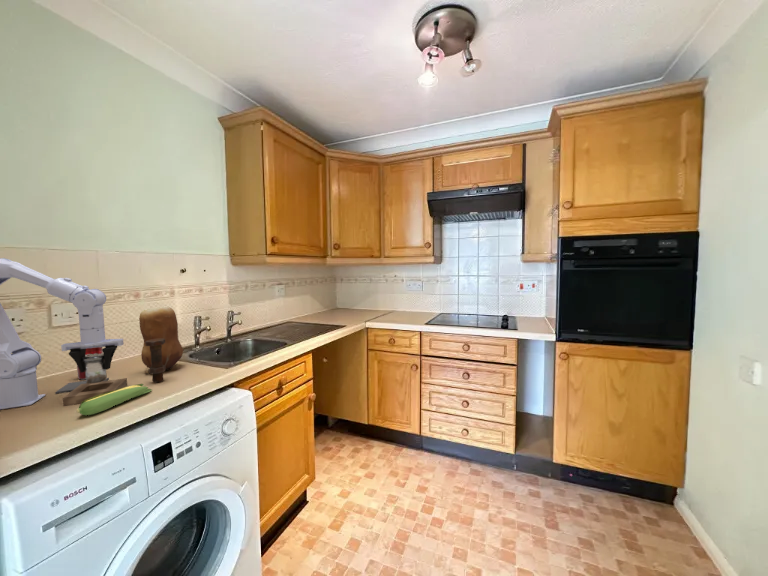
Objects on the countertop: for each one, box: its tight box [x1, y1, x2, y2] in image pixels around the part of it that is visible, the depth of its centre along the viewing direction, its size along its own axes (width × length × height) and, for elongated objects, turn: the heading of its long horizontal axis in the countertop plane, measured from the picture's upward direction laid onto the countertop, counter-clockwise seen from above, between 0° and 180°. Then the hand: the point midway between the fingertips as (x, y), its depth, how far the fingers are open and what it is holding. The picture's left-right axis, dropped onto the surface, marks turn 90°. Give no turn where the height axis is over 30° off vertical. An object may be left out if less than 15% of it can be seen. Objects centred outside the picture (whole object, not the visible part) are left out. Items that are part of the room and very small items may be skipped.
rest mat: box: [55, 377, 110, 395], centre depth 108 cm, size 11×9×1 cm
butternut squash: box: [138, 306, 184, 371], centre depth 123 cm, size 14×13×25 cm
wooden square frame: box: [62, 377, 128, 407], centre depth 100 cm, size 12×12×2 cm
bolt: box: [145, 338, 166, 384], centre depth 111 cm, size 6×5×15 cm
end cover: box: [82, 354, 108, 384], centre depth 100 cm, size 6×6×8 cm
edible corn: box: [76, 383, 153, 416], centre depth 93 cm, size 5×20×5 cm, turn 163°
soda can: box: [76, 345, 103, 381], centre depth 117 cm, size 7×7×12 cm
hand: (95, 370), depth 100 cm, fingers closed on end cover, 5 cm apart
